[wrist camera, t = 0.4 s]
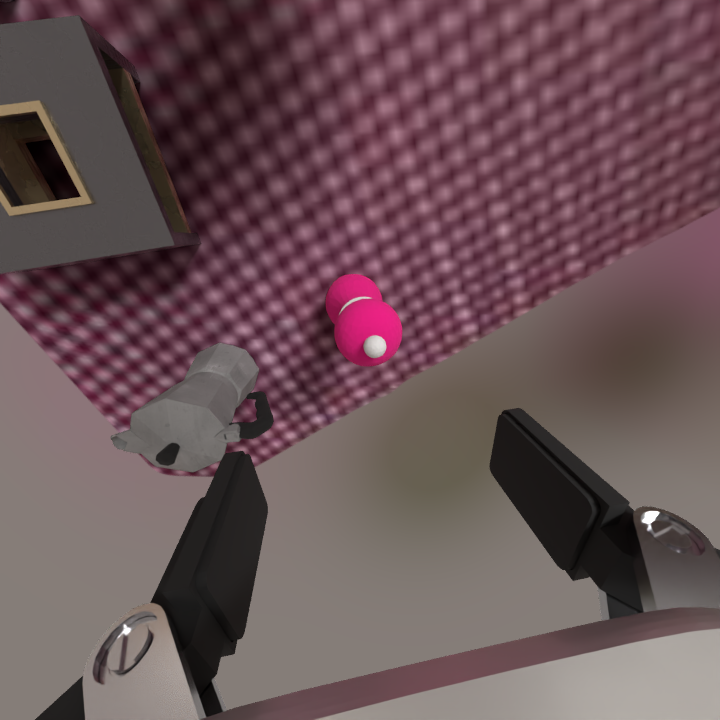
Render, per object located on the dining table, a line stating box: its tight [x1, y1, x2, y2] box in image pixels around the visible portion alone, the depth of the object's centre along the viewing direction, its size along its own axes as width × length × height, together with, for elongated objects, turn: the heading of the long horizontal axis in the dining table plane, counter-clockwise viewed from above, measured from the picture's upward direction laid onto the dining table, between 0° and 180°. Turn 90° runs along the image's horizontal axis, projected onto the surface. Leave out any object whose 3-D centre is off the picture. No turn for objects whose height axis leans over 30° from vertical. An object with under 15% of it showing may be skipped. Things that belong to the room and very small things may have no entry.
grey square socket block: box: [0, 15, 201, 274], centre depth 26 cm, size 18×16×7 cm
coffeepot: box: [111, 343, 274, 472], centre depth 32 cm, size 15×9×18 cm, turn 91°
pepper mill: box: [326, 274, 402, 366], centre depth 29 cm, size 7×7×20 cm
